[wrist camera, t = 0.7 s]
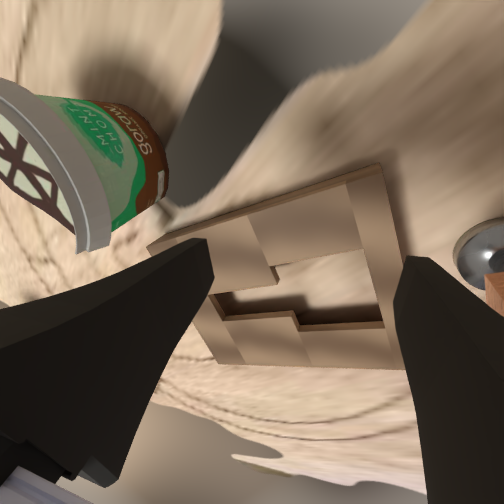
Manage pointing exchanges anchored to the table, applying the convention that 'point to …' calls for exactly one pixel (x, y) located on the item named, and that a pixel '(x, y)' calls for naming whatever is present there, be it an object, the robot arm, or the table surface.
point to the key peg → (483, 260)
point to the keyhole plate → (296, 249)
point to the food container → (80, 161)
